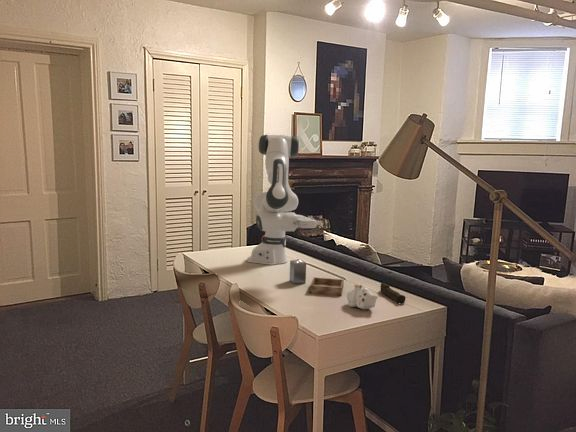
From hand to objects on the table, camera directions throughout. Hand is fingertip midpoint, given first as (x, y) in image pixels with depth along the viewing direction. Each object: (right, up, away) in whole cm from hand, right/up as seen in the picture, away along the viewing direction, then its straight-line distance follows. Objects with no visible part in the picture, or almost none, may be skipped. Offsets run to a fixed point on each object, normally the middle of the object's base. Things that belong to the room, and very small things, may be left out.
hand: (317, 221), depth 229 cm
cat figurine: (+15, -35, -35) cm, 52 cm away
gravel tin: (-10, -29, 0) cm, 31 cm away
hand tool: (+30, -34, -19) cm, 49 cm away
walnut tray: (+3, -31, -12) cm, 33 cm away
